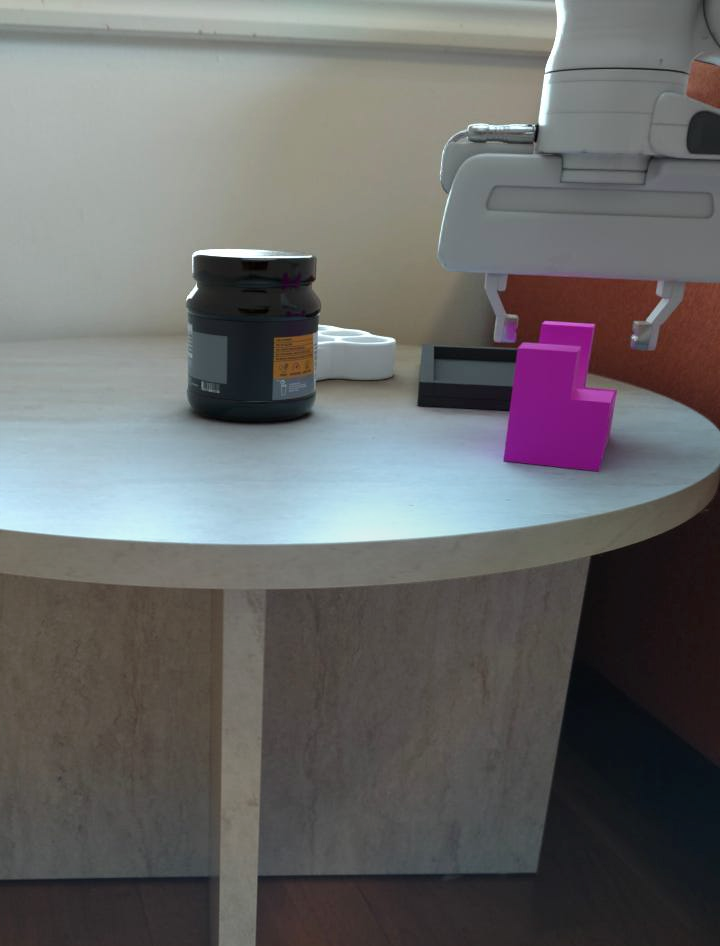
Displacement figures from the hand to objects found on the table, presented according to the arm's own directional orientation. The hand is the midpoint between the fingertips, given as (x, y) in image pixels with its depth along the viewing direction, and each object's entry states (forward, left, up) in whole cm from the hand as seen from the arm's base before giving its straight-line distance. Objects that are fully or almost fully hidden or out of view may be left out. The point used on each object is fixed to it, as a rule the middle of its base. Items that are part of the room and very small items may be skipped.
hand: (572, 345), depth 72 cm
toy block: (0, 0, -7) cm, 7 cm away
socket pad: (+5, -21, -7) cm, 23 cm away
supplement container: (+24, -5, -7) cm, 25 cm away
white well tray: (+22, -26, -7) cm, 35 cm away
